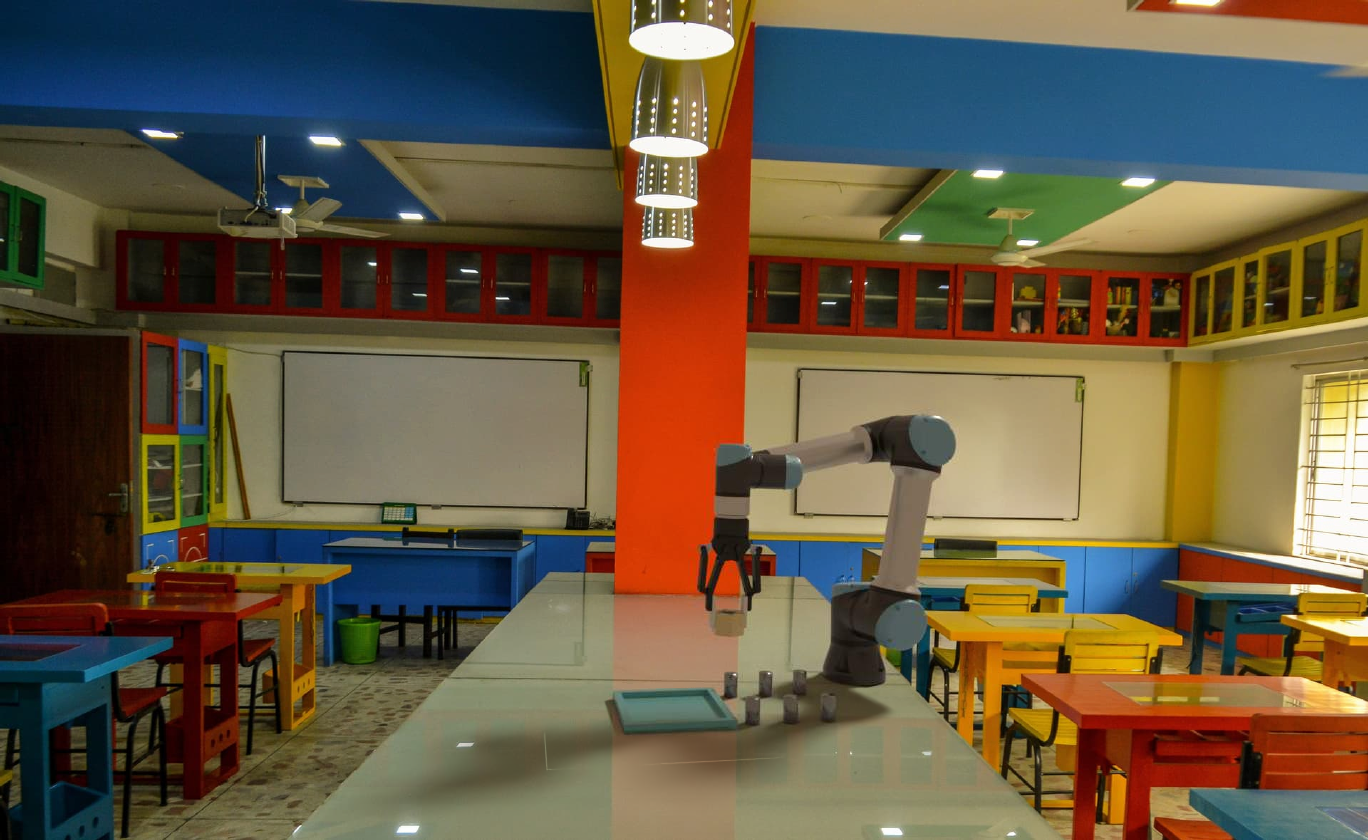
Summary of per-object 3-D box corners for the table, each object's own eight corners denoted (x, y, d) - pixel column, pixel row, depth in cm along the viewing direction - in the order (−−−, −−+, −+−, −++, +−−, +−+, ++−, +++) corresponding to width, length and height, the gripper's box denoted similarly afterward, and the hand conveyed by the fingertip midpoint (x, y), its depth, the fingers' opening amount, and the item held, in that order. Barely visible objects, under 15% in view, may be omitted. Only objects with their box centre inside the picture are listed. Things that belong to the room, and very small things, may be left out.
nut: (737, 629, 179) (738, 608, 180) (745, 637, 173) (746, 614, 173) (710, 629, 178) (710, 608, 178) (717, 637, 171) (718, 614, 172)
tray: (712, 695, 185) (712, 687, 185) (737, 729, 164) (737, 719, 164) (612, 698, 181) (612, 690, 181) (624, 734, 159) (625, 724, 159)
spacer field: (803, 691, 190) (804, 669, 190) (837, 721, 169) (838, 697, 169) (722, 694, 186) (722, 671, 186) (747, 725, 166) (747, 700, 166)
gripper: (769, 515, 182) (765, 622, 181) (684, 514, 178) (680, 623, 177) (780, 519, 174) (776, 630, 174) (691, 517, 171) (687, 630, 170)
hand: (727, 626), depth 175 cm, fingers closed on nut, 6 cm apart
